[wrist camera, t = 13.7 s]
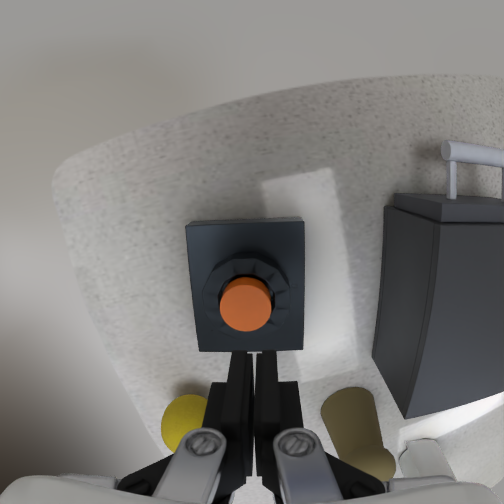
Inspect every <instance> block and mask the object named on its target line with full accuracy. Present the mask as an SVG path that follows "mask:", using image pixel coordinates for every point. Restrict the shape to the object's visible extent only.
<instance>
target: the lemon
mask: <svg viewBox="0 0 504 504" xmlns="http://www.w3.org/2000/svg"><path fill="white" fill-rule="evenodd" d="M207 401H208V400H207V399H206V398H204V397H202V396H199V395H193V394H189V395H183V396H180V397H178V398H176V399H174V400H173V401H172V402H171V403H170V404H169V405H168V407H167V408H166V410H165V412H164V415H163V417H162V422H161V435H162V438H163V441H164V443H165V444H166V446H167V447H168V448H169V449H170V450H171V451H172V452H173V453H175V451H176V449H177V447H178V445H179V443H180V441H181V439H182V438H183V436H184V435H185V434H186V433H188V432H189V431H191V430H194V429H197V428H201V427H202V422H203V418H204V414H205V409H206V405H207Z"/></svg>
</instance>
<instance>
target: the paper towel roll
mask: <svg viewBox="0 0 504 504" xmlns="http://www.w3.org/2000/svg"><path fill="white" fill-rule="evenodd" d="M404 442H405V444H406V446H407V448H408V449H407V450H406V451H405V452H404V453H403V454H402V456H401V457H400V459H399V465H400V467H401V470H402V473H403V475H404V478H411V477H425V476H435V475H447V476H450V477H452V478H453V479H455V480H456V481H457V479H456V477H455V475H454V473H453V471H452V470H451V468H450V466H449V464H448V462H447V460H446V458H445V456H444V454H443V453H442V451H441V449H440V447H439V445H438V444H437V442H436V441H435V440H428V439H421V440H417V441H404ZM457 482H458V481H457Z"/></svg>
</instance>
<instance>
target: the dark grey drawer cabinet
mask: <svg viewBox="0 0 504 504" xmlns="http://www.w3.org/2000/svg"><path fill="white" fill-rule="evenodd" d="M372 358H373V360H374V362H375V364H376V366H377V367H378V369H379V371H380V373H381V375H382V377H383V379H384V381H385V383H386V384H387V386H388V388H389V390H390V392H391V394H392V396H393V398H394V400H395V402H396V404H397V406H398V408H399V410H400V412H401V413H402V415H403V417H404V419H410V418H415V417H419V416H423V415H428V414H432V413H436V412H440V411H443V410H447V409H451V408H454V407H458V406H461V405H465V404H468V403H471V402H474V401H477V400H480V399H483V398H486V397H489V396H492V395H495V394H498V393H501V392H503V391H504V223H455V222H439V221H436V220H433V219H430V218H427V217H423V216H420V215H417V214H414V213H411V212H408V211H404V210H401V209H398V208H395V207H394V206H384V229H383V252H382V268H381V281H380V293H379V303H378V313H377V321H376V329H375V337H374V344H373V351H372Z"/></svg>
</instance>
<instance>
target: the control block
mask: <svg viewBox="0 0 504 504" xmlns="http://www.w3.org/2000/svg"><path fill="white" fill-rule="evenodd" d="M185 229H186V240H187V252H188V262H189V272H190V282H191V291H192V300H193V308H194V317H195V325H196V332H197V340H198V347H199V352H232V350H247V352H257V351H262V350H270V349H276V351H287V350H303V341H304V292H305V233H304V221H303V219H302V218H301V217H291V218H260V219H235V220H213V221H193V222H190V223H189V224H188V225H186V226H185ZM241 277H252V278H255V279H258V280H259V281H261V282H262V283H264V284H265V286H266V287H267V288H268V290H269V292H270V296H271V314H270V317H269V319H268V321H267V322H266V323H265V324H264V325H263V326H262V327H260V328H258V329H256V330H253V331H239V330H236V329H234V328H232V327H230V326H229V325H228V324H227V323H226V322H225V321H224V319H223V318H222V316H221V313H220V302H221V298H222V295H223V292H224V290H225V288H226V286H227V285H228V284H229V283H230V282H232V281H233V280H235V279H237V278H241Z"/></svg>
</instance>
